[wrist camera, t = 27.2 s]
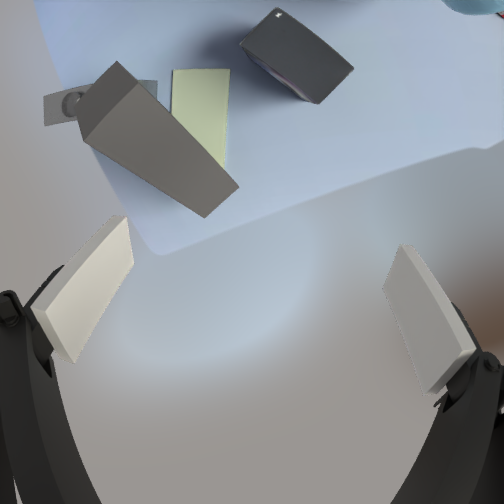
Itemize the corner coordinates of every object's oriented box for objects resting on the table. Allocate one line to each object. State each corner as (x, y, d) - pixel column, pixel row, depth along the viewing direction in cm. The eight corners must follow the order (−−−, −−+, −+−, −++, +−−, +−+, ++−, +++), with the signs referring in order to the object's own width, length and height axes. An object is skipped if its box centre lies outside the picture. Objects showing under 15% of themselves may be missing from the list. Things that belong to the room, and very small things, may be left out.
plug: (74, 105, 20) (83, 141, 17) (116, 60, 19) (138, 83, 16) (183, 185, 40) (209, 221, 37) (213, 157, 39) (243, 191, 36)
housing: (95, 89, 32) (39, 97, 21) (157, 80, 32) (109, 79, 21) (95, 112, 35) (40, 127, 23) (156, 106, 34) (109, 116, 23)
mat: (174, 70, 31) (173, 69, 31) (230, 69, 31) (230, 68, 31) (172, 185, 41) (171, 186, 41) (223, 188, 41) (222, 189, 41)
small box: (244, 57, 30) (235, 44, 22) (275, 26, 28) (276, 3, 19) (305, 104, 34) (317, 107, 25) (335, 73, 31) (357, 66, 22)
